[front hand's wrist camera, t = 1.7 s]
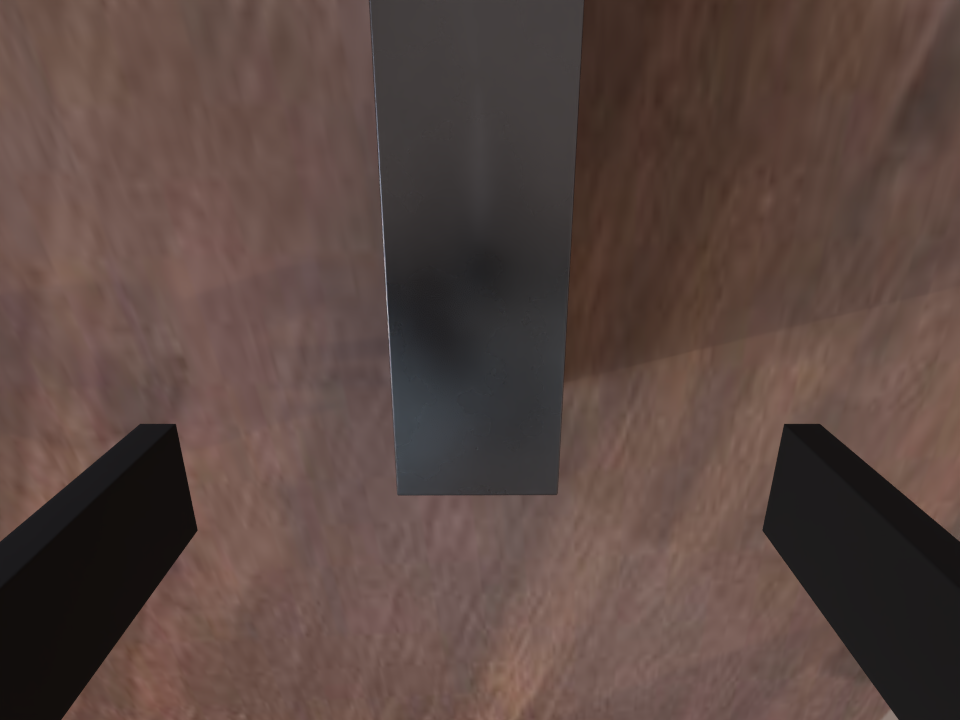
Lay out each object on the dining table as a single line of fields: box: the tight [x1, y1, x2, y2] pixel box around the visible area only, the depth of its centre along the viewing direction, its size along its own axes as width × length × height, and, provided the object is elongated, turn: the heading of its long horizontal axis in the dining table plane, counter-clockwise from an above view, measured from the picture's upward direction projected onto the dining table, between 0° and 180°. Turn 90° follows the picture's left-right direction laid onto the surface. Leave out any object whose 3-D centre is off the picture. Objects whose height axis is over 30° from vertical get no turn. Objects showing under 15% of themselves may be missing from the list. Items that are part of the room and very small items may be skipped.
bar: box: [369, 0, 584, 495], centre depth 19 cm, size 25×5×9 cm, turn 0°
